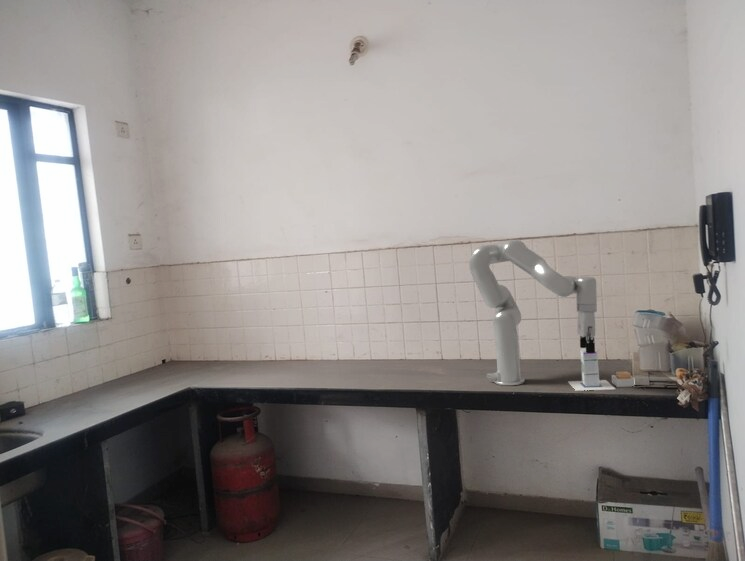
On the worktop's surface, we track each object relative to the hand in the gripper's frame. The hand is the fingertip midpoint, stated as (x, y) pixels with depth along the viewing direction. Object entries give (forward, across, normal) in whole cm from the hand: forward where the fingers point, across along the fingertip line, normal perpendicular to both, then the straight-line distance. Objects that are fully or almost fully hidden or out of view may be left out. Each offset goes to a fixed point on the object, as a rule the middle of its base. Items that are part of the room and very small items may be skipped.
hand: (587, 350), depth 224 cm
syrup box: (+14, 0, +1) cm, 14 cm away
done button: (+12, 0, +14) cm, 18 cm away
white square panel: (+14, 0, +1) cm, 15 cm away
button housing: (+14, 0, +14) cm, 20 cm away
